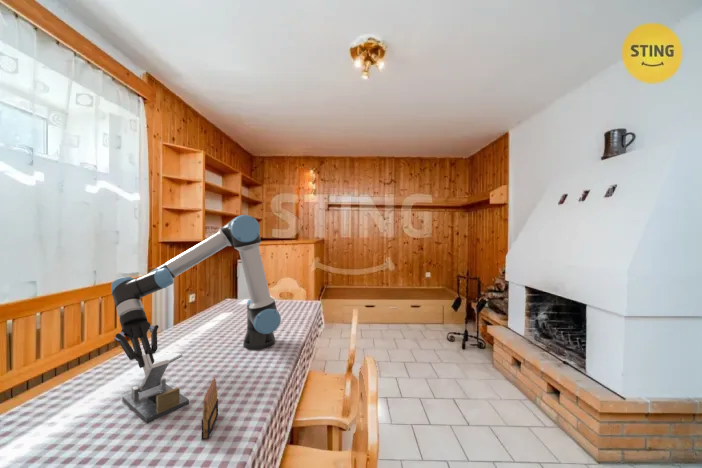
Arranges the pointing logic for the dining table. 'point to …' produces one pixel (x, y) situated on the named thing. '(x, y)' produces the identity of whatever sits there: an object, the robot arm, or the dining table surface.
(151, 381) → the strap
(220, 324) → the dining table surface
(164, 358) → the external hard drive
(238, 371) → the dining table surface
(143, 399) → the latch board
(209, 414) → the ammunition clip
